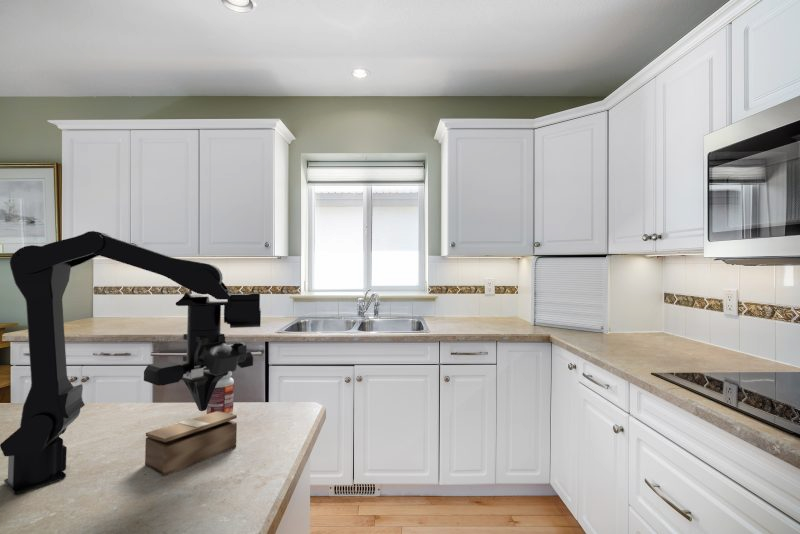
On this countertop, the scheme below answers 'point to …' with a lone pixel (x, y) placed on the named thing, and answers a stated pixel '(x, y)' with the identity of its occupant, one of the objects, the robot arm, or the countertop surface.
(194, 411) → the countertop surface
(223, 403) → the pill bottle
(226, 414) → the lid
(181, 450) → the box
